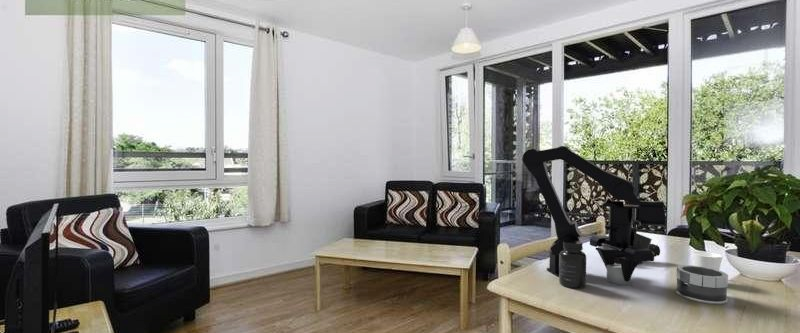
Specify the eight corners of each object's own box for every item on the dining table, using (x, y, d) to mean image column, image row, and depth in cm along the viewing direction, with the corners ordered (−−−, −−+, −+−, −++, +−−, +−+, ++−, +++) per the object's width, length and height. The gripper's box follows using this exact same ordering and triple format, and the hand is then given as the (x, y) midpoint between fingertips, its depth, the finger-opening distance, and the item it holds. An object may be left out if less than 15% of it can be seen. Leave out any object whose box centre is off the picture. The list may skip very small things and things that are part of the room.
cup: (686, 280, 109) (687, 252, 109) (699, 274, 115) (700, 248, 114) (716, 288, 103) (717, 258, 103) (729, 281, 109) (730, 253, 109)
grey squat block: (616, 285, 105) (617, 270, 104) (601, 278, 111) (602, 263, 110) (636, 284, 106) (636, 269, 106) (619, 277, 112) (620, 263, 111)
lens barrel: (702, 305, 91) (703, 278, 91) (665, 289, 102) (666, 265, 101) (739, 303, 93) (740, 277, 93) (699, 288, 103) (700, 264, 103)
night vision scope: (655, 268, 128) (670, 256, 120) (601, 268, 129) (612, 255, 122) (647, 247, 133) (661, 233, 125) (594, 246, 134) (605, 233, 126)
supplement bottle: (564, 278, 110) (565, 237, 109) (589, 285, 105) (590, 242, 104) (554, 284, 105) (555, 241, 104) (580, 291, 100) (581, 246, 100)
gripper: (673, 229, 99) (671, 287, 100) (622, 216, 118) (620, 266, 119) (635, 230, 98) (633, 289, 98) (589, 217, 116) (587, 267, 117)
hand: (618, 277), depth 108 cm, fingers closed on grey squat block, 6 cm apart
